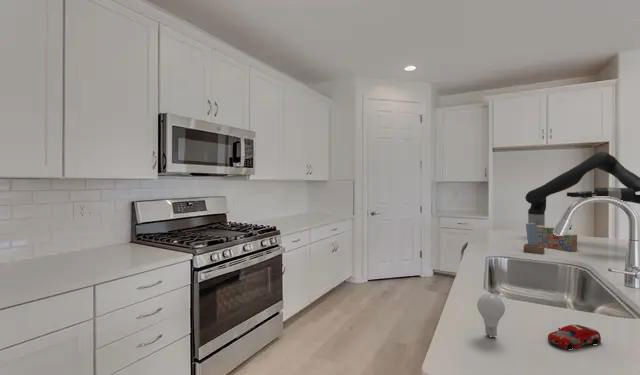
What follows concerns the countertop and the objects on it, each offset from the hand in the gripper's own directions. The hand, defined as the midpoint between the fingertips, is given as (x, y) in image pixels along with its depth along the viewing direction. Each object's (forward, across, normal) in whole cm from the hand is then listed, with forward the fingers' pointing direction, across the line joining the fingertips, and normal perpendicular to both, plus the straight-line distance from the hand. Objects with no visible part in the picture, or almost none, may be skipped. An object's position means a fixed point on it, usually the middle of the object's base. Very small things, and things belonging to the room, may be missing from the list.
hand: (568, 194), depth 175 cm
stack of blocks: (+5, -14, +32) cm, 36 cm away
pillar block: (+16, +2, +28) cm, 33 cm away
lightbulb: (+38, +123, +32) cm, 133 cm away
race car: (+20, +118, +32) cm, 124 cm away
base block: (+16, +2, +32) cm, 36 cm away
